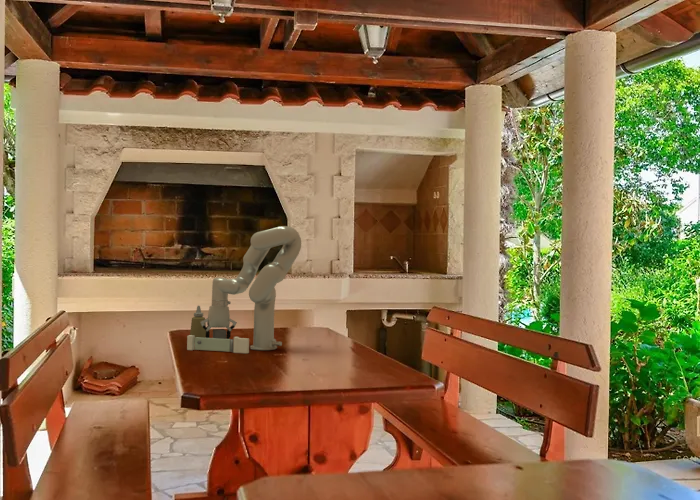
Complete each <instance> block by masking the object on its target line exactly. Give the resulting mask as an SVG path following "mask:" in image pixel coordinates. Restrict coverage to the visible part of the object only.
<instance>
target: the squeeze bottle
mask: <svg viewBox="0 0 700 500" xmlns="http://www.w3.org/2000/svg"><path fill="white" fill-rule="evenodd" d="M201 309H202V308H201V305H197V306H196V310H195V312H193V317H191V323H190V324H191V325H190V332H189V335H194V336H195V337H199V338H206V330H205V329H204V328H203V327H202V325H201V323H200V322H201V321H203V320H205V319H206V317H204V312H202V310H201ZM206 323H207V322H206ZM206 323H204V325H205V326H206V327H207V324H206ZM194 343H195V338H194Z"/></svg>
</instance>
